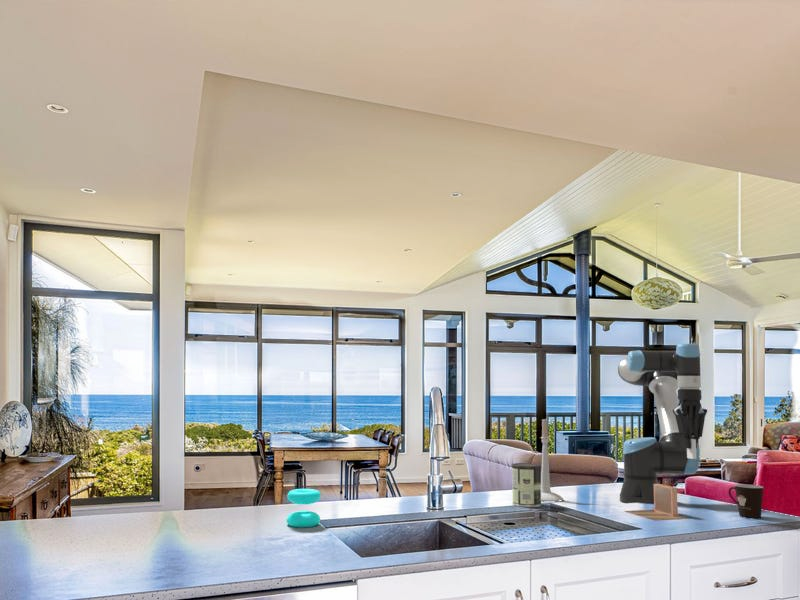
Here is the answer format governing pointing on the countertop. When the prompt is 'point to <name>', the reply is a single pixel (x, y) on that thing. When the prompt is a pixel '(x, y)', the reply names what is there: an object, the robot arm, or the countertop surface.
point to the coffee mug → (748, 500)
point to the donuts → (303, 516)
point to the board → (655, 515)
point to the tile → (665, 499)
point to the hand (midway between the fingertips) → (691, 458)
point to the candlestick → (546, 468)
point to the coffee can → (526, 484)
